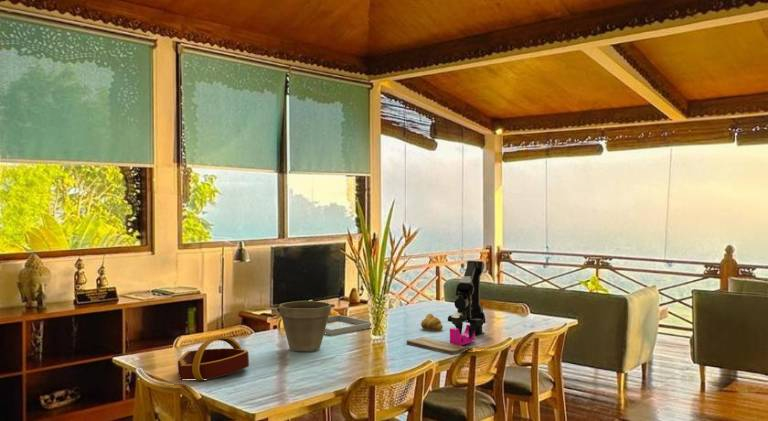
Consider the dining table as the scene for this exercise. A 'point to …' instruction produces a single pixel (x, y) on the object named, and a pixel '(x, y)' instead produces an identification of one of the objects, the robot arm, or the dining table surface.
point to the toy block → (460, 336)
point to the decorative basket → (213, 360)
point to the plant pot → (305, 323)
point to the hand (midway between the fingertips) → (465, 337)
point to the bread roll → (431, 323)
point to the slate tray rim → (361, 325)
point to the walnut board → (437, 345)
